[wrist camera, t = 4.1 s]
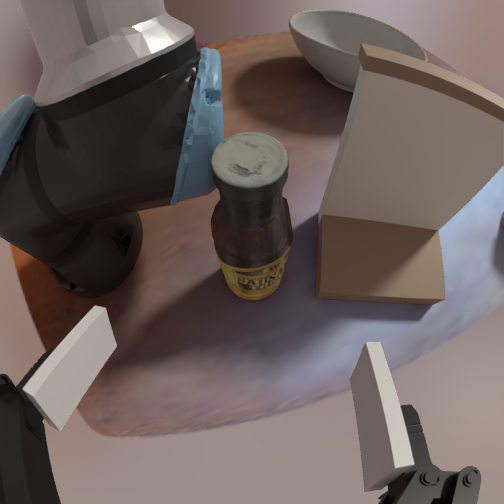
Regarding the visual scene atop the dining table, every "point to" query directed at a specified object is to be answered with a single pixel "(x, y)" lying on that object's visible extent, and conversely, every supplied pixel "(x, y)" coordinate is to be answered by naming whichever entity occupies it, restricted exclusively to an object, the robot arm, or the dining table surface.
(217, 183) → the sauce bottle
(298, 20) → the decorative bowl
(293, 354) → the dining table surface
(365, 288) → the upright board stand
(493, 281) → the dining table surface
